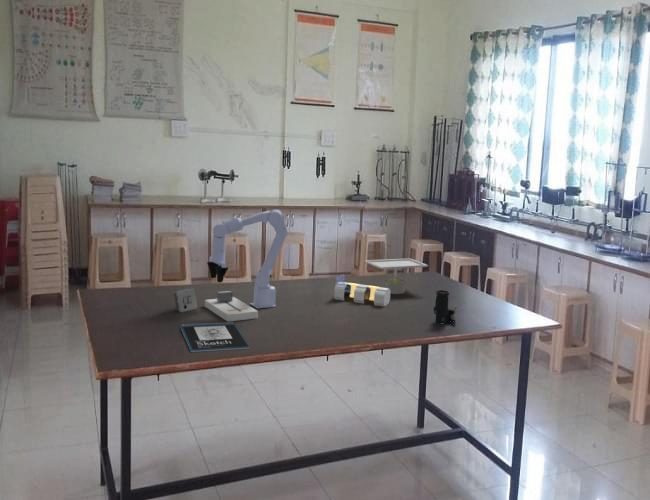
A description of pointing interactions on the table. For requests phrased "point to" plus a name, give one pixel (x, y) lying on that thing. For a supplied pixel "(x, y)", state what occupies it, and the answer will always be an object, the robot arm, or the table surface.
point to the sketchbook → (213, 337)
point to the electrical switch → (185, 300)
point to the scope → (443, 308)
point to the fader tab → (224, 296)
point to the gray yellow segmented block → (361, 292)
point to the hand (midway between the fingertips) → (216, 279)
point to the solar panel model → (395, 271)
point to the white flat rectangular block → (231, 309)
